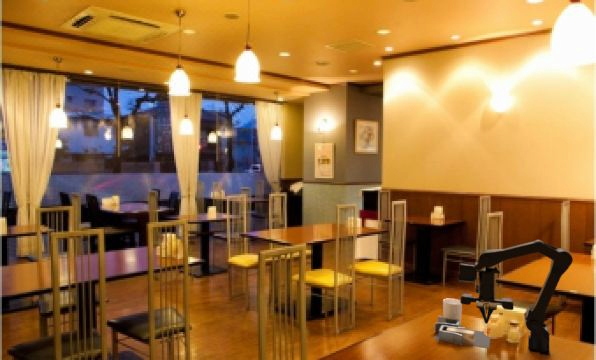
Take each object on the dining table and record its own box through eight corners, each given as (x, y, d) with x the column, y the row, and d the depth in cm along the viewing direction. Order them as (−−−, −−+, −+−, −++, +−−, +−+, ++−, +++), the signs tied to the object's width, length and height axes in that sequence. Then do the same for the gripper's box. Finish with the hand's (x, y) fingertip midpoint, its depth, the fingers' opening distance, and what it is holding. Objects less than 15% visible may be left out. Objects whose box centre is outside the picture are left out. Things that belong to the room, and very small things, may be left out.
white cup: (458, 328, 192) (458, 305, 192) (440, 324, 197) (440, 301, 197) (464, 323, 199) (464, 300, 198) (446, 319, 203) (446, 297, 203)
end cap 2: (465, 337, 182) (465, 327, 182) (462, 346, 173) (462, 335, 173) (442, 333, 186) (442, 323, 186) (438, 342, 177) (438, 331, 177)
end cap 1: (434, 332, 187) (434, 323, 186) (438, 325, 195) (438, 315, 195) (457, 336, 183) (457, 326, 183) (460, 328, 191) (460, 318, 191)
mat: (491, 333, 186) (491, 332, 186) (488, 349, 171) (488, 348, 171) (440, 326, 195) (440, 325, 195) (433, 340, 180) (433, 339, 180)
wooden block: (474, 341, 178) (474, 331, 178) (473, 344, 175) (473, 334, 174) (447, 337, 182) (447, 327, 182) (446, 340, 179) (446, 330, 179)
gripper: (513, 280, 179) (513, 320, 180) (463, 276, 187) (462, 313, 188) (513, 288, 169) (513, 329, 170) (460, 282, 177) (460, 322, 178)
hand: (486, 323), depth 177 cm, fingers closed
